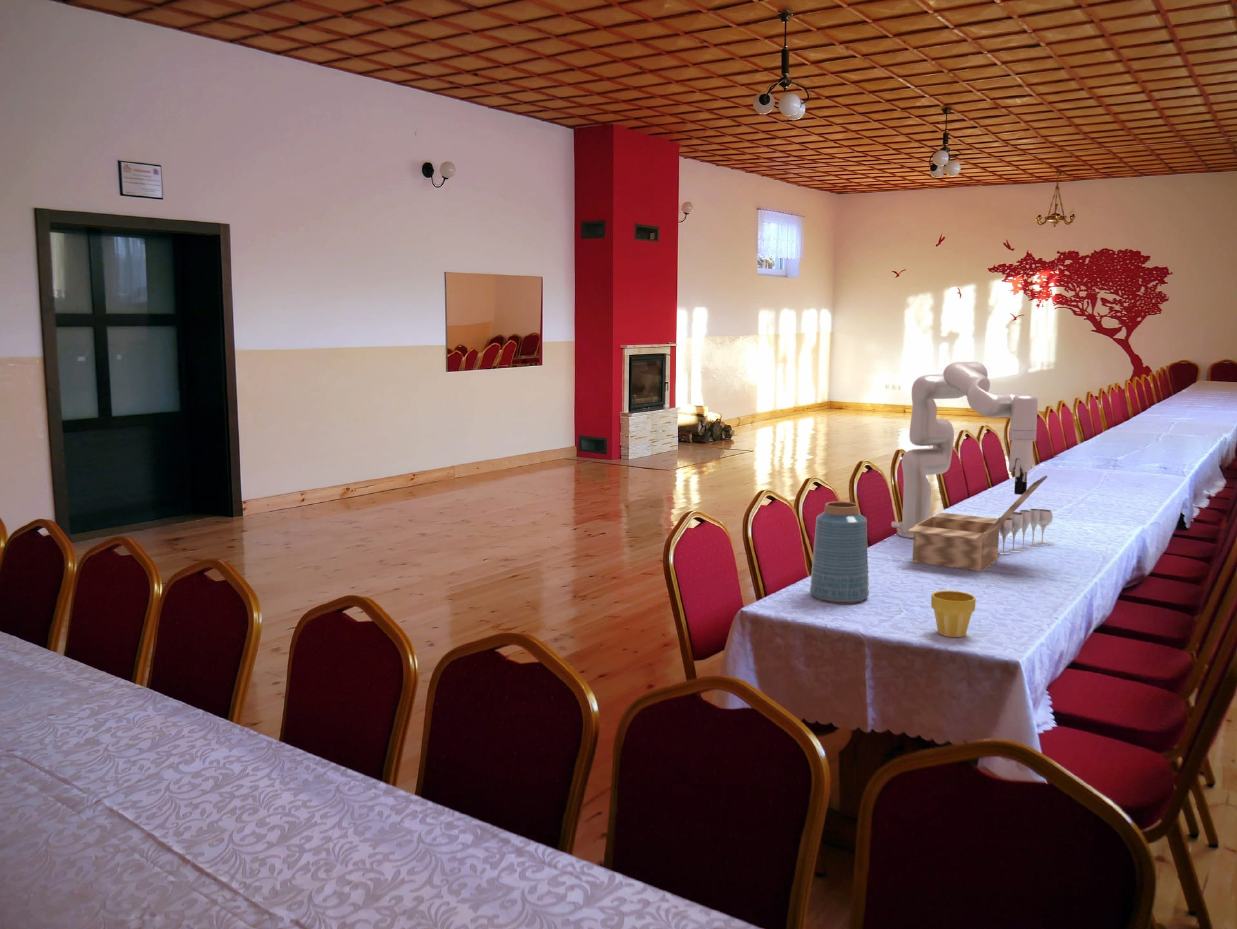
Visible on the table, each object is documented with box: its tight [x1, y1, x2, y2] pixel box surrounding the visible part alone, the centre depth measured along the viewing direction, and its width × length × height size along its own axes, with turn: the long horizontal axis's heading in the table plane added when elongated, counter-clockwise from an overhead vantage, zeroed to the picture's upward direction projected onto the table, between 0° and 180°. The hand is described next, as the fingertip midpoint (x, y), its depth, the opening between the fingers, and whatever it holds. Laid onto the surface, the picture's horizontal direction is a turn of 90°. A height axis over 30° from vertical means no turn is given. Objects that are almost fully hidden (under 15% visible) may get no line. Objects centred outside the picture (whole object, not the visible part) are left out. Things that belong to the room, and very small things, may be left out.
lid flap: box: [985, 475, 1048, 535], centre depth 302 cm, size 22×18×1 cm
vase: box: [809, 500, 870, 605], centre depth 273 cm, size 16×16×27 cm
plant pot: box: [930, 590, 977, 638], centre depth 242 cm, size 10×10×10 cm
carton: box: [908, 512, 1000, 572], centre depth 314 cm, size 22×34×12 cm, turn 145°
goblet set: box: [997, 508, 1054, 554], centre depth 330 cm, size 28×6×13 cm, turn 125°
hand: (1020, 494), depth 300 cm, fingers closed
